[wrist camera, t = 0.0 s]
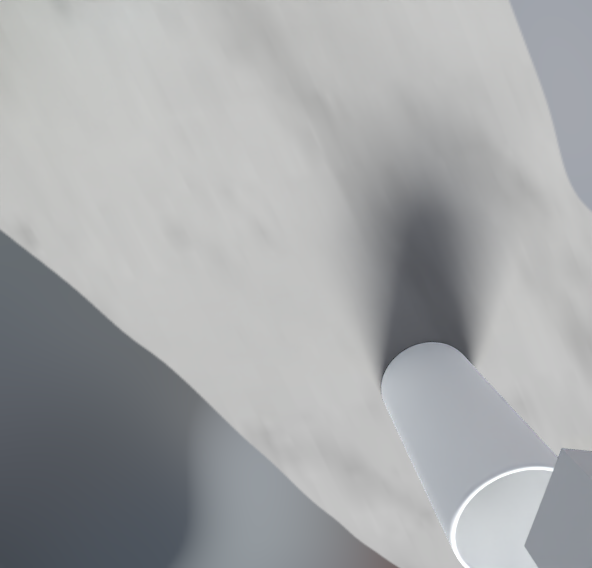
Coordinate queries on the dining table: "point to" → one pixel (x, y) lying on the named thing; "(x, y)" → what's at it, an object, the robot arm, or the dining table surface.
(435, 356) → the cup
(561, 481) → the robot arm
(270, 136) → the dining table surface
